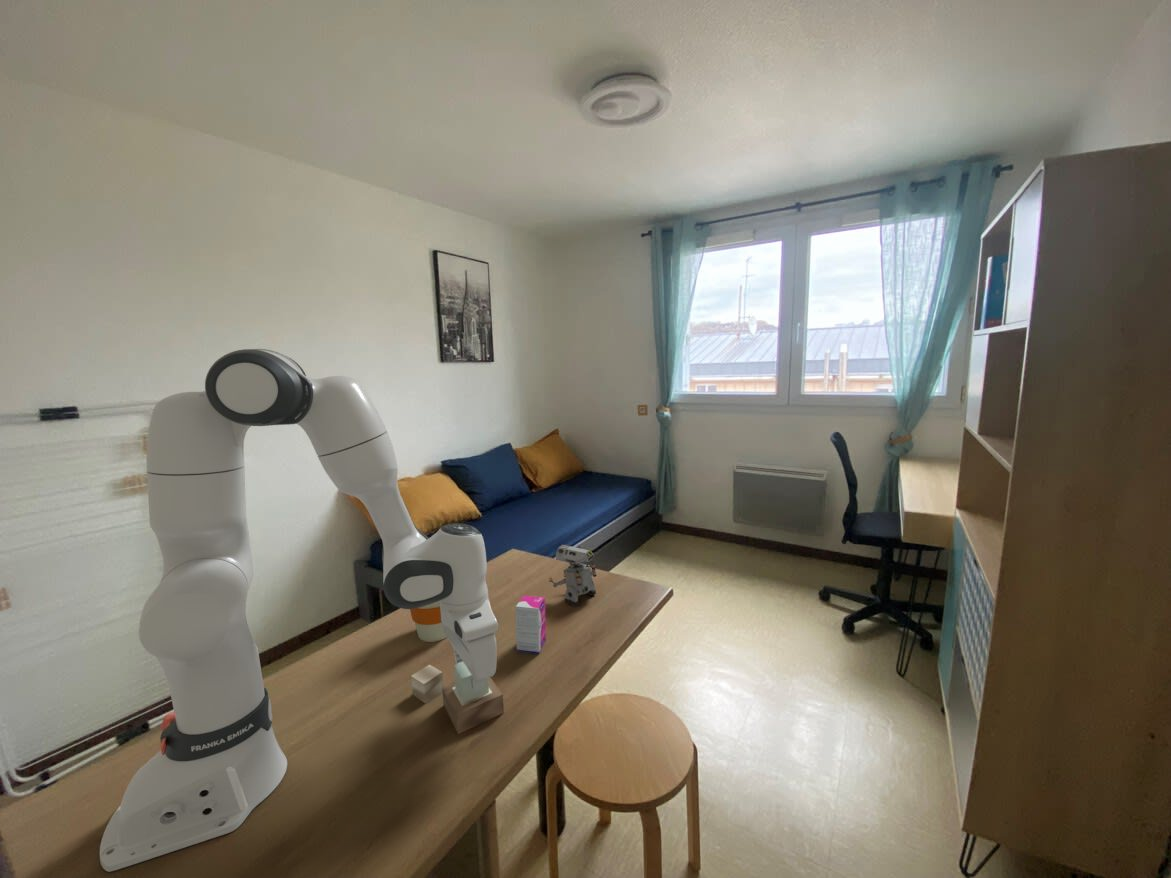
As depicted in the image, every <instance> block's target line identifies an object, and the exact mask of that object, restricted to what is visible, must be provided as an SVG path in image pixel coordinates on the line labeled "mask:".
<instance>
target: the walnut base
mask: <svg viewBox="0 0 1171 878" xmlns="http://www.w3.org/2000/svg"><path fill="white" fill-rule="evenodd" d="M488 685H489V692H488V693H486V694H484V695H481V696H479V697H477V698H474V699H472V700H469V701H467V702H465V703H464V702H463V701H462V699H461V697H460V695H459V694H458V692H457V690H456V688H455V681H454V682H451V683H449V684H446V685H443V687H442V702H443V703H442V704H443V707H444V708H445V711H446V713H447V714H448V717H449V719H450V721H451V723H452V724H453V726H454V728H455V730H456V732H457V734H458V735H459V734H461V733H463V732H466V731H468V730H470V729H472V728H474V727H477V726H479V725H481V724H483V723H485V722H487V721H490V720H491V719H494V718H496V717H498V716H500V715H504V713H505V709H504V707H505V706H504V694H503V692H501V690H500V688H499V687H498V685H497V684H496V683H495V682H494V680H493V678H492V677H489V678H488Z"/></svg>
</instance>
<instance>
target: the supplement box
mask: <svg viewBox="0 0 1171 878" xmlns="http://www.w3.org/2000/svg"><path fill="white" fill-rule="evenodd" d="M546 630H547V629H546V597H544V596H533V595H522V596H521V598H520V600H519V602H517V604H516V606H515V632H516V633H515V634H516V636H515V637H516V639H515V640H516V652H517V653H526V654H534V655H535V654H536V655H537V654H538V655H539V654H540V653H541V651H542V649H543V647H544V644H545V642H546V641H547V639H546V638H547V634H546V633H547V632H546Z"/></svg>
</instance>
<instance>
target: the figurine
mask: <svg viewBox="0 0 1171 878" xmlns="http://www.w3.org/2000/svg"><path fill="white" fill-rule="evenodd" d="M594 554H595V553H594V552H592V551H591V550H588V549H584V548H581V546H580V545H578V547H575V546H571V545H566V544H562V545H560V546H559V547H558V548H557V551H556V554H555V560H557V561H561V562H564V563H565V562H566V563H569V566H568V567H567V568H565V569H563V577H564V578H562V579H561V580H558V581H556V582H555V581H554V580H553V579H552V578H549V581H548V582H550V583H552V584H553V585H552V587H553V588H557V587H558V586H562V585H565V587H566V590H565V598H564V602H565V604H566V603H567V604H568V605H571V606H572V605H574V606H576V607H578V606H579V605H580V603H579V600H578V599H579V598H578V596H580V595H586V593H587V594H588V595H589V594H591V595H593V596H595V595H596V594H597V592H596V586H595V585H596V584H595V582H594V579H593V577H594V578H595V577H597V572H596V566H595V564H594V563H593V562H590V561H591V560H593V559H594ZM583 562H586V563H587V564H584V563H583ZM589 564H591V567H590V565H589ZM591 595H590V596H591ZM574 606H573V607H574Z"/></svg>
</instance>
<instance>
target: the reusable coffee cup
mask: <svg viewBox="0 0 1171 878" xmlns="http://www.w3.org/2000/svg"><path fill="white" fill-rule="evenodd" d="M409 612H410V615H411V619H412V621H413V622H414V623H415V624H414V625H415V629H416V633H417V636H418V638H419V640H420V641H423V642H429V643H430V642H431V643H432V642H439V641H443V640H444V639H446V638H447V636H446V635H445V633H444V630H443V623H442V621H441V610H440V601H437V602H435V603H432V604H429V605H426V606H423V607H419V608H415V609H409ZM447 639H448V638H447Z"/></svg>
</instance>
